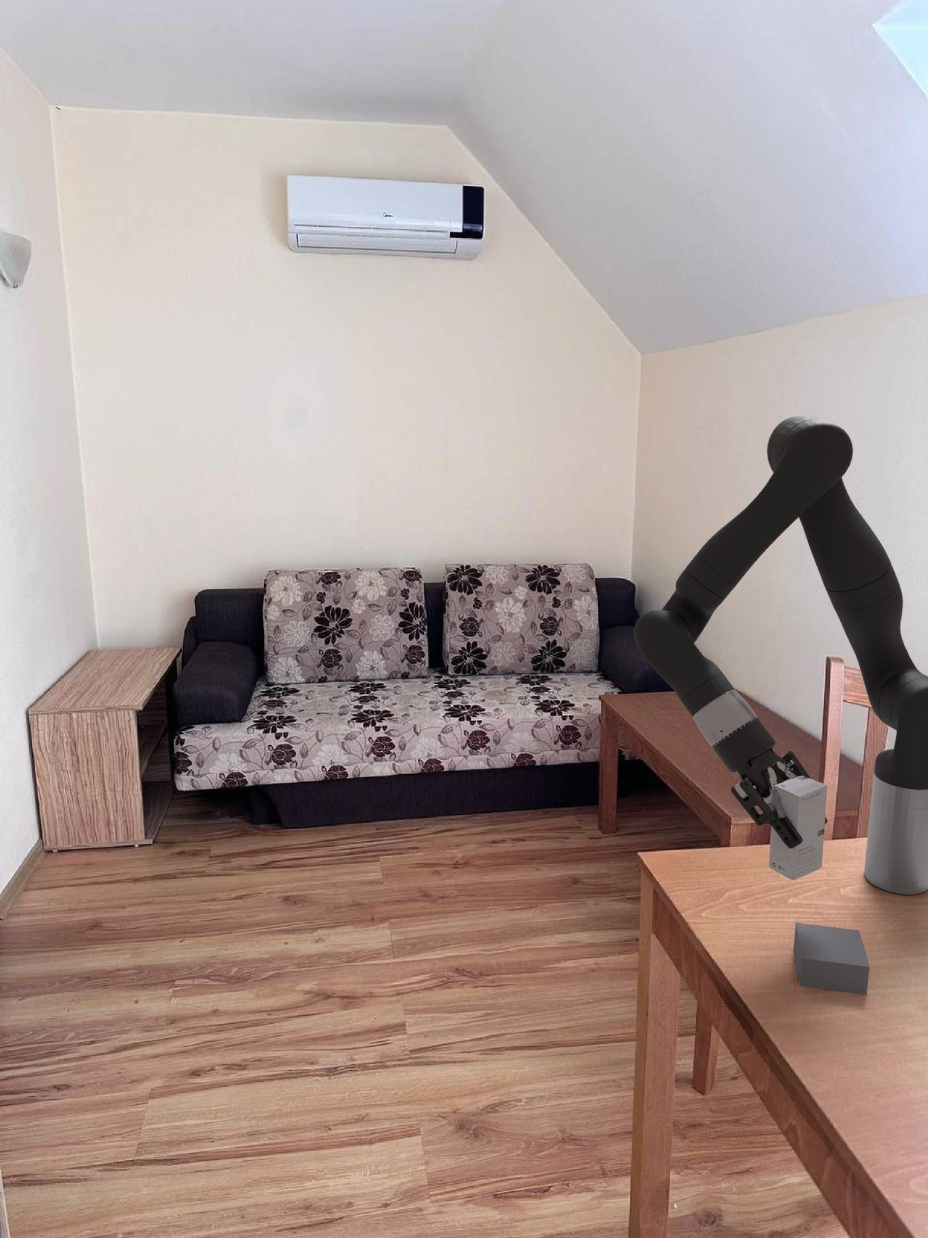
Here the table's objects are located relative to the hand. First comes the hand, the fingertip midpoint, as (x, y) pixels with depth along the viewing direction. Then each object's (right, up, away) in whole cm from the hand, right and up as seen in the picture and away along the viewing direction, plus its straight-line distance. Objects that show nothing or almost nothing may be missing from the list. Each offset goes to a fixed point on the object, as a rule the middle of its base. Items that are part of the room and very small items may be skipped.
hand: (809, 835), depth 117 cm
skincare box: (-1, -5, +3) cm, 6 cm away
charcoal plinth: (+2, -18, -1) cm, 18 cm away
